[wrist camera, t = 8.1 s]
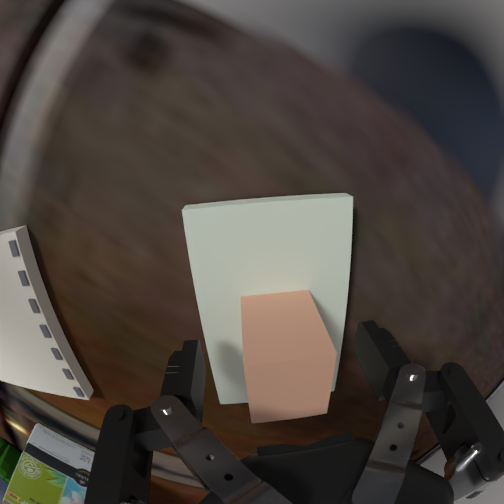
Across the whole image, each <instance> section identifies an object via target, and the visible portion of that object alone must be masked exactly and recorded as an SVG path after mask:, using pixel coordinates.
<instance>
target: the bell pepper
mask: <svg viewBox="0 0 504 504" xmlns="http://www.w3.org/2000/svg"><path fill="white" fill-rule="evenodd" d="M20 456H21V453H20V452H19V451H18V450H17V449H16V448H15V447H13V446H11V445H9V444H8V443H7V442H6V441H4V440H3V439H1V438H0V477H2V478H3V480H4V481H5V482H6V483H8V484H9V483H10V480H11V477H12V475H13V473H14V471H15V468H16V466H17V464H18V461H19V459H20Z"/></svg>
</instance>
